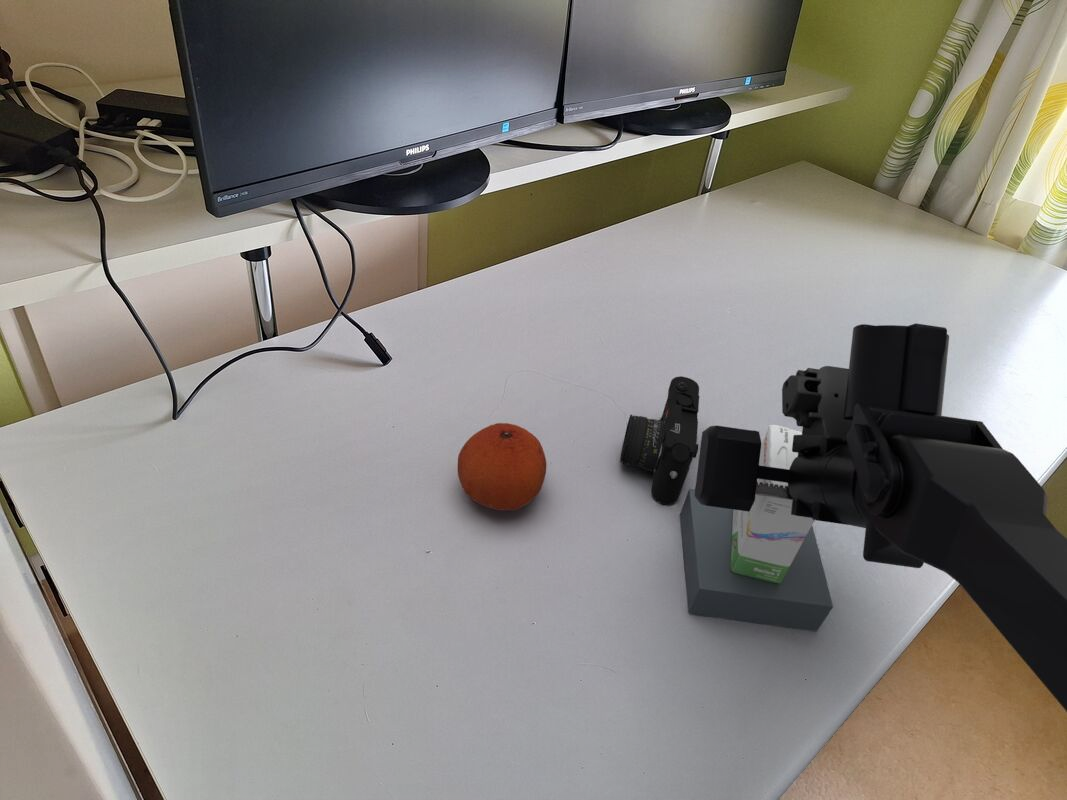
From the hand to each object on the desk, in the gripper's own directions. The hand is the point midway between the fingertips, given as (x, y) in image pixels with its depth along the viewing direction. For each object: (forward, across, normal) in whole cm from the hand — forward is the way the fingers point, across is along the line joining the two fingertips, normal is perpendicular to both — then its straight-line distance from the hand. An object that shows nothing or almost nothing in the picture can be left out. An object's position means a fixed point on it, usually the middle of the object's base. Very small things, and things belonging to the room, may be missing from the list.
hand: (782, 477), depth 67 cm
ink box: (+5, 0, +7) cm, 8 cm away
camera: (+17, +8, 0) cm, 19 cm away
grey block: (+8, 0, +9) cm, 12 cm away
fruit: (+12, +25, +6) cm, 28 cm away
